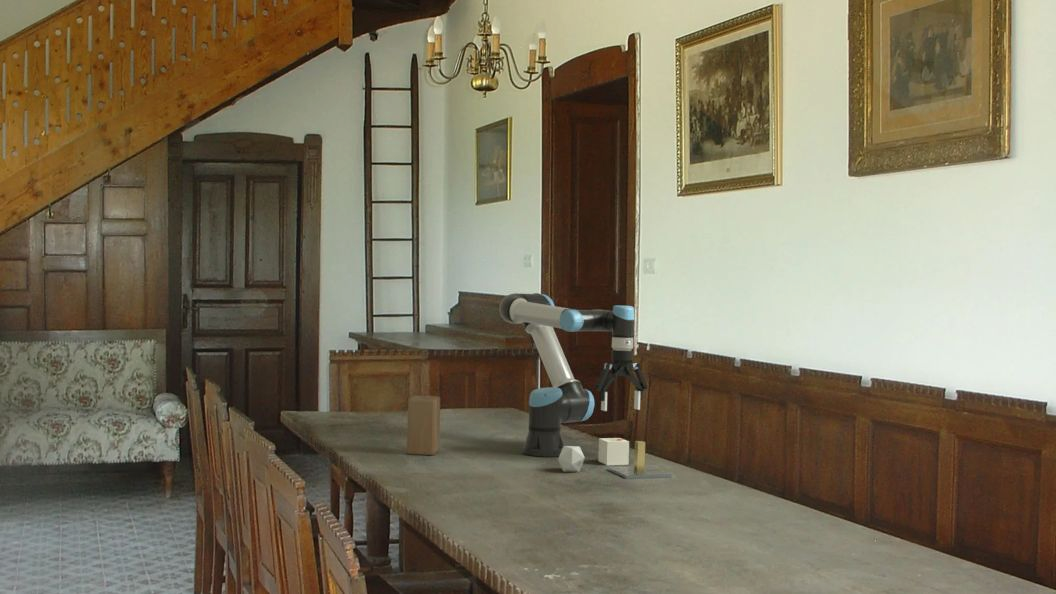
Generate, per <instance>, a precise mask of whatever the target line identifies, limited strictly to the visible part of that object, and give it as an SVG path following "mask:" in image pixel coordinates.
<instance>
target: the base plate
mask: <svg viewBox="0 0 1056 594" xmlns="http://www.w3.org/2000/svg"><path fill="white" fill-rule="evenodd" d="M645 458H646V441H642V440H635V441H634V458H633V460H634V462H633V465H616V466H607V471H609V472H611V473H613V474H615V475H618V476H619V477H621V478H624V479H625V480H630V479H654V478H655V479H663V478H672V476H673V475H672V473H669V472H668V471H665V470H663V469H660V468H658V467H656V466H654V465H646V462H645V461H646V459H645Z"/></svg>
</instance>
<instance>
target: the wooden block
mask: <svg viewBox="0 0 1056 594" xmlns="http://www.w3.org/2000/svg"><path fill="white" fill-rule="evenodd" d="M440 421H441V397H440V396H438V395H419V394H418V395H417V394H416V395H415V394H414V395H413V396H411V397H409V398H408V401H407V432H406V433H407V434H406V437H407V438H406V441H407V442H406V453H407V455H411V456H412V455H415V456H419V455H420V456H434V455H436V454H437V453H438V452H439V450H440V428H441V427H440V425H441V423H440Z"/></svg>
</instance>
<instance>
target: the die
mask: <svg viewBox="0 0 1056 594" xmlns="http://www.w3.org/2000/svg"><path fill="white" fill-rule="evenodd" d="M557 461H558V463H559V465H560V467H561V470H562V472H565V473H567V472H569V473H570V472H571V473H574V472H575V473H579V472H580V470H581V469H582V466H583V465H584V461H585V455H584V453H583V451H582V449H581V447H580V446H576V445H575V446H574V445H569V446H568V445H564V446H563V449H562V451H561V453H560V456H558V460H557Z"/></svg>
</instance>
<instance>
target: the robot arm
mask: <svg viewBox="0 0 1056 594" xmlns="http://www.w3.org/2000/svg"><path fill="white" fill-rule="evenodd" d="M499 314H500V317H501V318H502V319H503V320H504V321H505V322H507V323H509V324H514V325H522V326H523V328H524V330H525V332H526V333H527V334H528V335H529V334H530V335H531V336H532V339H533V342H534V345H535V347H536V349H537V351H538V353H539V356H540V358H541V359H540V360H541V361H542V363H543V366H544V368H545V369H544V370H546V373H547V376H548V378H549V381H550V383H551V386H552V387H551V386H550V387H540V388H537V389H533V390H531V392H530V393H529V400H528V432H527V435H526V438H525V441H524V444H523V448H522V453H523V454H524V455H528V456H533V457H543V458H545V457H547V458H549V457H551V458H552V457H559V456H560V453H561V451H562V449H563V446H565V444H564V440H563V436H562V431H561V430H562V427H561V426H562V424H567V423H579V422H583V421H587V420H588V419H589V418H590V417H591V416H592V415H593V412H594V408H595V398H594V395H593V394H592V391H590V390H588V389H587V388H583V385H582V383H581V381H580V380H578V379H575V377H574V374H573V372H572V370H571V368H570V365H569V363H568V360H567V358H566V356H565V353H564V351H563V348H562V346H561V344H560V342H559V341H560V340H559V339H558V336H557V334H556V331H555V329H554V328H557V329H561V330H563V331H565V332H571V333H574V332H611V333H612V334H611V348H612V350H611V363H607V362H604V363H603V367H602V371H601V372H600V375H599V377H598V379H597V382H596V383H595V386H594V390H596V391H598V392H599V398H598V399H599V401H600V402H601V404H600V410H601V411H604V412H607V411H608V391H607V390H608V388H609V387H610V386H611V384H612V383H613V381H615V380H616V379H615V378H617V377H627V378H628V379H629V380H630V381H629V382H631V384H632V385H633V386H634V388H635V390H634V397H633V399H634V400H633V402H634V403H633V409H634V410H638V411H639V410H641V400H643V392H644V391H645V390H647V389H648V385H647V383H646V380H645V377H644V375H643V372H642V370H641V363H639V362H634V363H633V361H634V351H633V349H634V336H635V335H634V333H635V331H634V327H635V318H636V317H635V307H633V306H631V305H613V307H612V310H608V309H607V310H606V309H590V310H589V309H575V308H567V307H561V306H556V305H555V303H554V300H553V299H552V298H551V297H550V296H548V295H546V294H545V293H538V292H536V293H518V292H517V293H514V292H513V293H510V294H508V295H506V296H504V298H502V299H501V301H500V303H499ZM610 370H611V371H610ZM632 370H634V372H633V371H632ZM635 375H636V376H635Z"/></svg>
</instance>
